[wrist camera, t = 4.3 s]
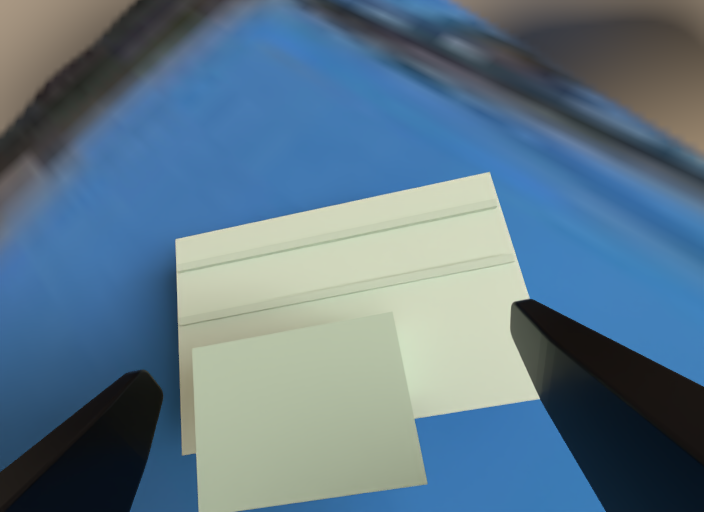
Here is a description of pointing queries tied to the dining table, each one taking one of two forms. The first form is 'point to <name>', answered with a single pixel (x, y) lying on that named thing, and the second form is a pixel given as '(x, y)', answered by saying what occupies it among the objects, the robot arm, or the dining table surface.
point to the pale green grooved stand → (342, 341)
